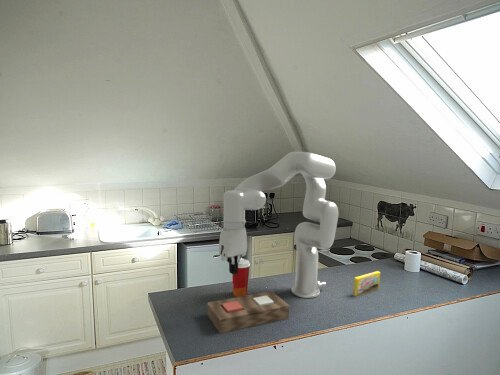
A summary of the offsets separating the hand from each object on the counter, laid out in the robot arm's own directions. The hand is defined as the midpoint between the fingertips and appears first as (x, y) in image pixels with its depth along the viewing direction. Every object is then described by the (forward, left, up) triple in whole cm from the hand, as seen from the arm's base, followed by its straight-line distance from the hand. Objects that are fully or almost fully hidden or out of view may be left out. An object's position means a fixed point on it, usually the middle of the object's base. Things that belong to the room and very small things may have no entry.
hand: (233, 273), depth 134 cm
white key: (-13, 0, -16) cm, 20 cm away
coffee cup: (-11, -19, -19) cm, 29 cm away
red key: (0, 0, -16) cm, 16 cm away
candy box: (-65, 0, -19) cm, 68 cm away
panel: (-6, 0, -18) cm, 19 cm away
